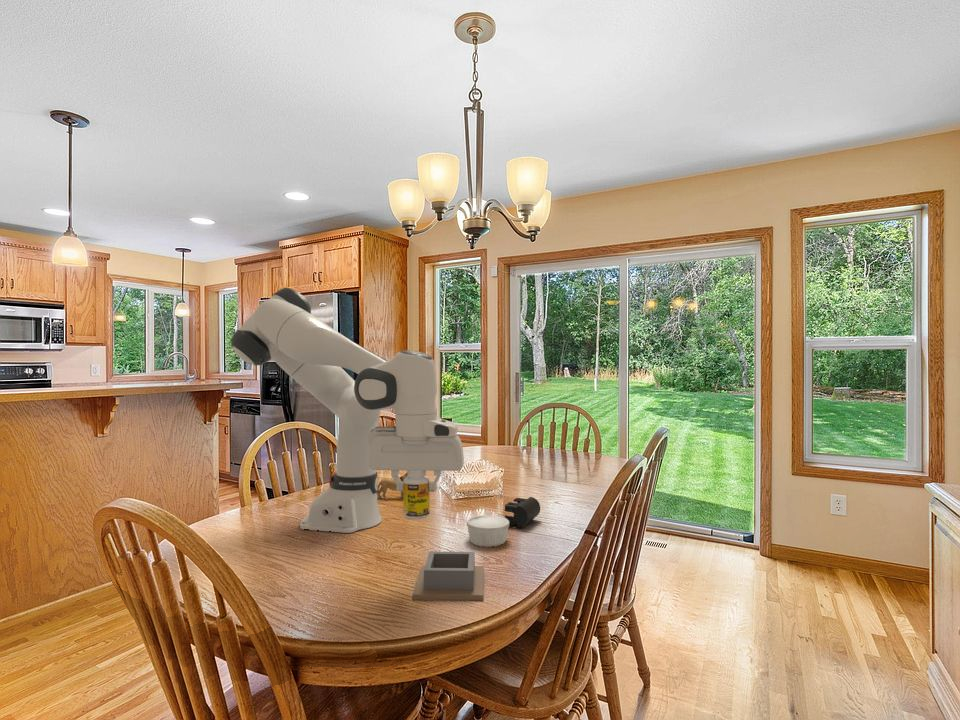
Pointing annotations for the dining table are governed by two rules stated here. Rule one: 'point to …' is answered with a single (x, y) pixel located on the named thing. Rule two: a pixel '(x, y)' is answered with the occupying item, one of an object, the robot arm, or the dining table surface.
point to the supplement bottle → (416, 495)
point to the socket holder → (450, 577)
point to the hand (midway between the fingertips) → (416, 490)
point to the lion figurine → (389, 486)
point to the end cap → (522, 511)
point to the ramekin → (488, 530)
